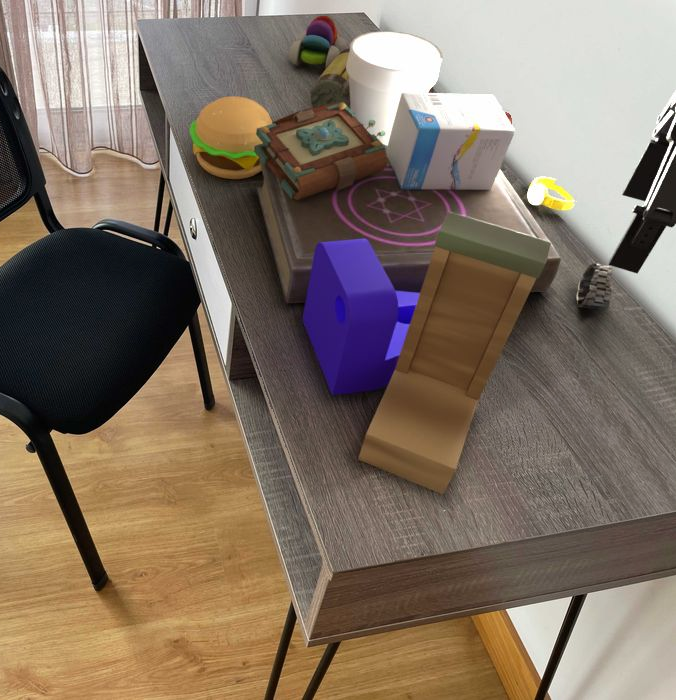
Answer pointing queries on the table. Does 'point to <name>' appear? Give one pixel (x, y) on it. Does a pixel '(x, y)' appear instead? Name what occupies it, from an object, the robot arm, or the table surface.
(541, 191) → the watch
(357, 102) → the cup
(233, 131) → the hamburger
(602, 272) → the wristwatch
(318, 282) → the bracket
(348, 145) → the decorative book
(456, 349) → the two-tone angled block
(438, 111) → the ink box
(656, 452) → the table surface
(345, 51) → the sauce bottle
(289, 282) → the book
